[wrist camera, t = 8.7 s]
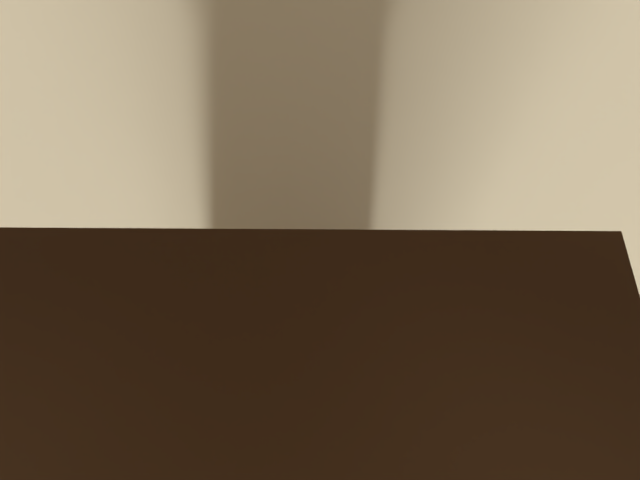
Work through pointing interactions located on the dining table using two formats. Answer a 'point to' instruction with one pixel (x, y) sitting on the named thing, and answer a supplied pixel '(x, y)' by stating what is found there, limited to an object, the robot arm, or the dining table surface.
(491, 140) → the mat
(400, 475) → the wood grain block
